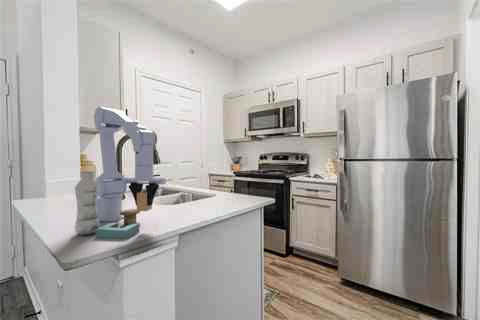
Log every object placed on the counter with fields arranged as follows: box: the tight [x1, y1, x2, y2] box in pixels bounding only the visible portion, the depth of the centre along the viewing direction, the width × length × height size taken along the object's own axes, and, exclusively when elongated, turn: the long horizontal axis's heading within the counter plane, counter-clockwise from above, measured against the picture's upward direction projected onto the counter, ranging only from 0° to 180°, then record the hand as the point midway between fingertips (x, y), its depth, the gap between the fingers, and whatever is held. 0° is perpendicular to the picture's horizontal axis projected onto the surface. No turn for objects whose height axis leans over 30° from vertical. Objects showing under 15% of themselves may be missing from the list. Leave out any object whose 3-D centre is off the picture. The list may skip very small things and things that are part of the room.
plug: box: [136, 189, 153, 212], centre depth 76 cm, size 4×4×7 cm
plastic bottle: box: [74, 171, 101, 236], centre depth 71 cm, size 6×7×20 cm
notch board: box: [95, 222, 140, 239], centre depth 71 cm, size 10×7×2 cm
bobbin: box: [119, 208, 141, 228], centre depth 78 cm, size 6×6×6 cm
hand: (144, 205), depth 76 cm, fingers closed on plug, 3 cm apart
